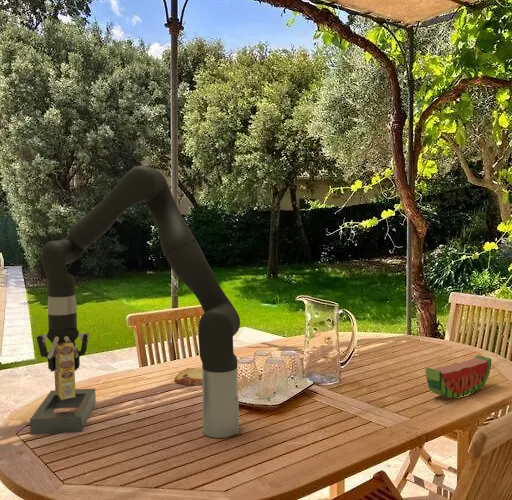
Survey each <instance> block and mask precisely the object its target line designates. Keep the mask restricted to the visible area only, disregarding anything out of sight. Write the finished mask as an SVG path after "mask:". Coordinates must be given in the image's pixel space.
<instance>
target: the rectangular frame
mask: <svg viewBox="0 0 512 500" xmlns="http://www.w3.org/2000/svg"><path fill="white" fill-rule="evenodd" d="M96 395H97V394H96V388H81V389H79V388H78V389H77V388H75V398H69V399H64V400H61V399H60V397H59V396H58V394H57V393H56V391H55V389H54V390H50V391H49V393H48V394H47V395H46V397H45V399H44V400H43V401H42V402H41V403H40V405H39V406H38V408H37V409H36V411H35V412H34V414H33V415H32V416H31V417H30V419H29V426H30V427H29V429H30V430H29V432H30V435H43V434H45V435H46V434H63V433H77V432H78V433H79V432H80V433H81V432H83V430H84V428H85V425H86V424H87V422H88V420H89V417H90V415H91V413H92V410H93V409H94V405H95V404H96V397H97V396H96ZM60 408H61V409H63V408H64V409H65V408H77V410H76V411H62V412H61V411H59V412H54V411H55V409H60Z"/></svg>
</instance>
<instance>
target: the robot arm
mask: <svg viewBox="0 0 512 500" xmlns="http://www.w3.org/2000/svg"><path fill="white" fill-rule="evenodd" d="M139 202H143V203H144V204H145V205H146V207H147V209H148V211H149V212H150V214H151V215H152V217H153V219H154V222H155V224H156V227H157V232H158V238H159V243H160V247H161V250H162V253H163V254H164V256H165V259H166V260H167V263H168V264H169V266H170V268H171V269H172V271H173V273H174V274H175V276H177V278H178V279H179V280H180V281H181V282H182V283H183V284H184V285H185V286H186V287H187V288H188V289H189V290H190V291H191V292H192V293H193V295H194V296H195V297H196V299H197V301H198V302H199V305H200V306H201V309H202V310H203V314H202V315H201V316H200V319H199V322H198V331H197V332H198V333H197V334H198V350H199V351H198V352H199V357H200V360H201V366H202V367H201V368H202V382H203V386H202V431H203V434H204V435H205V436H207V437H210V438H216V439H218V438H219V439H220V438H221V439H225V438H228V437H229V438H230V437H232V436H234V435H235V436H236V435H239V434H240V429H239V428H240V427H239V426H240V421H239V420H240V417H239V415H240V411H239V410H240V407H239V404H240V402H239V395H238V357H237V355H235V353H234V336H235V335H237V333H238V332H239V330H240V328H241V327H240V326H241V319H240V315H239V313H238V311H237V310H236V308H235V306H234V305H233V304H232V302H231V300H230V299H229V298H228V296H227V295H226V293H225V291H224V290H223V288H222V287H221V286H220V284H219V281H218V280H217V278H216V276H215V274H214V272H213V270H212V268H211V266H210V264H209V262H208V260H207V259H206V256H205V254H204V251H202V248H201V246H200V245H199V243H198V240H197V239H196V238H195V236H194V234H193V232H192V231H191V228H190V226H189V225H188V223H187V221H186V220H185V217H183V215H182V213H181V211H180V209H179V208H178V205H177V203H176V201H175V199H174V196H173V194H172V191H171V189H170V186H169V184H168V182H167V179H166V177H165V176H164V174H163V173H162V172H161V171H159V169H157V168H153V167H150V166H145V165H138V166H134V167H132V168H131V169H130V170H128V172H126V174H125V175H124V176H123V177H122V178H121V179H120V180H119V182H118V183H117V184H116V185H115V187H113V189H112V190H111V191H110V192H109V193H108V194H107V195H106V196H105V197H104V198H103V199H102V200H101V201H100V202H99V203H98V204H97V205H96V206H95V207H94V208H93V209H91V210H90V211H89V212H88V213H86V215H84V216H83V217H81V218H80V219H79V220H78V221H77V222H75V223H74V224H73V225H72V226H71V227H70V228H69V230H68V235H66V237H64V238H63V239H61V240H60V239H58V240H51V241H48V242H46V243H45V244H44V246H43V248H42V251H41V262H42V263H41V264H42V266H43V267H42V268H43V270H44V273H45V274H44V275H45V277H46V279H47V290H48V291H47V292H48V293H47V295H48V296H47V298H48V299H47V320H48V321H47V325H48V331H47V333H44V334H42V333H40V334H38V336H36V342H37V345H38V348H39V354H40V356H41V357H42V358H47V365H48V367H47V369H48V370H49V371H50V372H51V373H52V372H54V370H55V357H54V354H55V350H56V346H57V343H61V342H66V343H73V344H74V366H75V372H76V371H77V370H78V369H79V368H80V366H81V363H80V362H81V359H80V357H81V356H85V354H86V353H87V351H88V350H87V349H88V345H89V344H88V343H89V337H90V334H89V332H85V333H84V332H80V331H79V330H78V315H77V314H78V306H77V299H76V284H75V282H76V281H75V277H74V276H73V274H71V273H69V272H68V269H67V265H70V264H72V263H74V262H75V261H77V260H78V259H79V258H80V257H82V255H83V254H84V253H85V252H86V250H87V249H88V248H89V247H90V246H91V245H93V244H94V243H96V241H98V240H99V239H100V238H102V237H103V236H104V235H105V234H106V233H107V232H108V231H109V230H110V229H111V228H112V226H113V225H114V223H115V222H116V221H117V219H118V218H119V217H120V216H121V214H123V213H124V212H125V211H127V210H128V209H129V208H132V207H133V206H134V205H136V204H138V203H139ZM78 338H79V341H81V345H80V350H79V348H78V345H77V343H76V340H77V339H78ZM47 339H48V340H49V341H50V342H51V346H50V349H49V351H48V348H47V344H46V342H47Z"/></svg>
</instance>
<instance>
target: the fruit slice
mask: <svg viewBox="0 0 512 500" xmlns="http://www.w3.org/2000/svg"><path fill="white" fill-rule="evenodd" d="M491 369H492V358H489V357H487V356H482V355H475V357H474V358H472V359H469V360H465V361H464V360H463V361H462V362H454V363H451V364H449V365H445V366H440V367H435V368H432V367H431V368H430V367H425V377H426V381H427V387H428V389H429V391H430V392H432V393H433V394H436V395H439V396H441V397H444V398H451V399H458V398H457V397H460V396H464V395H467V394H469V393H472V392H474V393H476V392H477V391H479V390H480V389H482V388H483V387H484V386H485V385H486V383H487V381H488V379H489V376H490V372H491ZM475 391H476V392H475ZM472 394H473V393H472Z"/></svg>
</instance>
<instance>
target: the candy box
mask: <svg viewBox="0 0 512 500" xmlns="http://www.w3.org/2000/svg"><path fill="white" fill-rule="evenodd" d="M54 357H55V370H54V371H53V372H54V390H55V391H56V393H57V394H58V396H59V397H60V399H61V400H64V399H69V398H75V389H76V371H75V366H74V344H73V343H66V342H61V343H57V346H56V350H55V354H54Z"/></svg>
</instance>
